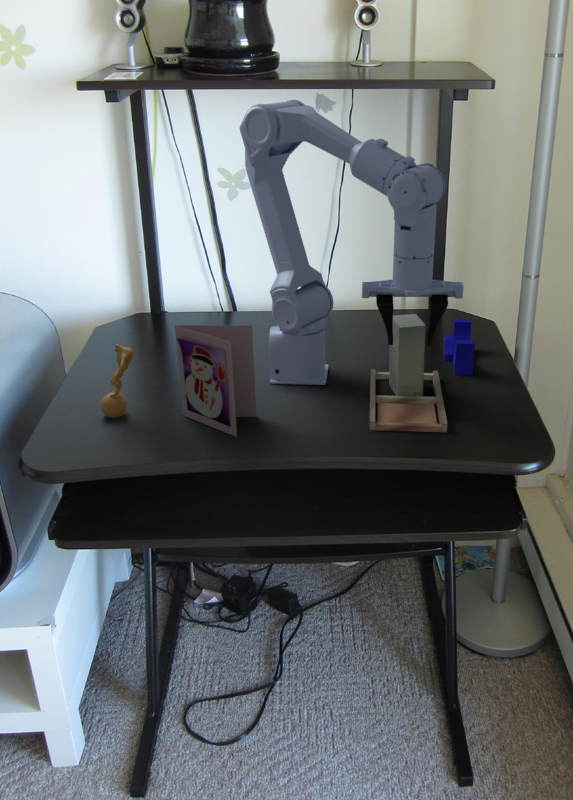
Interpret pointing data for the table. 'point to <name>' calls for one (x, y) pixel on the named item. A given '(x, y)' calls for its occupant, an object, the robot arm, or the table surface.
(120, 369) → the figurine
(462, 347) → the cable clip
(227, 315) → the table surface
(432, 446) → the table surface
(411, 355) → the skincare box
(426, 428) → the pink framed panel
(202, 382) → the greeting card
